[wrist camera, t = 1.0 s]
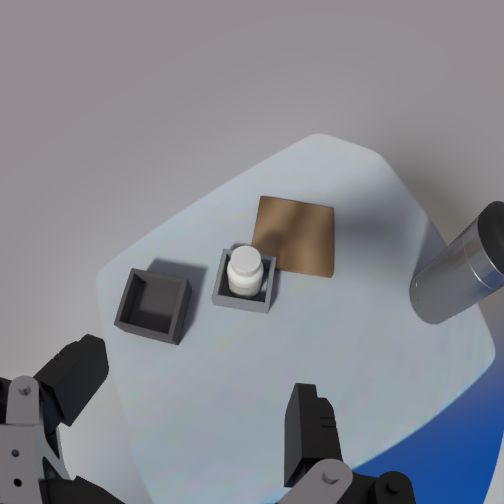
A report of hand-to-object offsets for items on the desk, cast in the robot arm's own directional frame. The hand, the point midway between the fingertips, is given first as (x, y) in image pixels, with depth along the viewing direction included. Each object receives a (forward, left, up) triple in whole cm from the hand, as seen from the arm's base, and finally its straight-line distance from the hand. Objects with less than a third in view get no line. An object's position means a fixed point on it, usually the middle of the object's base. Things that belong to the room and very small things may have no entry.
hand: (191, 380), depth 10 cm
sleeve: (0, -14, -24) cm, 28 cm away
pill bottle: (0, -14, -25) cm, 28 cm away
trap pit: (+11, -8, -24) cm, 28 cm away
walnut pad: (-6, -23, -24) cm, 34 cm away
